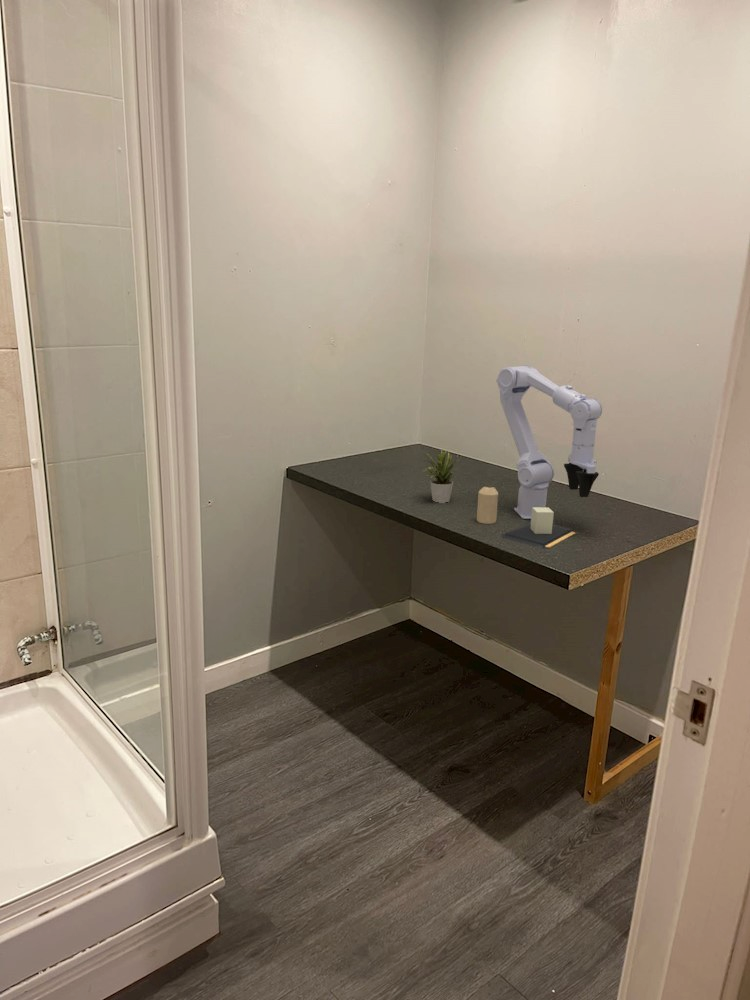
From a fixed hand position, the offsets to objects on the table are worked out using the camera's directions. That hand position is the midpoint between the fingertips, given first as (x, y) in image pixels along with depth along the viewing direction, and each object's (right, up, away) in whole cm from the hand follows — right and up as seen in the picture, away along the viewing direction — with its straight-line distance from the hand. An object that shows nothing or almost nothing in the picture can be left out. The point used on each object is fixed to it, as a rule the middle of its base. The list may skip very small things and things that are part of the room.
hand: (578, 492), depth 196 cm
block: (-11, -10, -3) cm, 15 cm away
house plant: (-36, -2, +27) cm, 45 cm away
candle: (-24, -8, +8) cm, 27 cm away
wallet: (-11, -12, -2) cm, 17 cm away
